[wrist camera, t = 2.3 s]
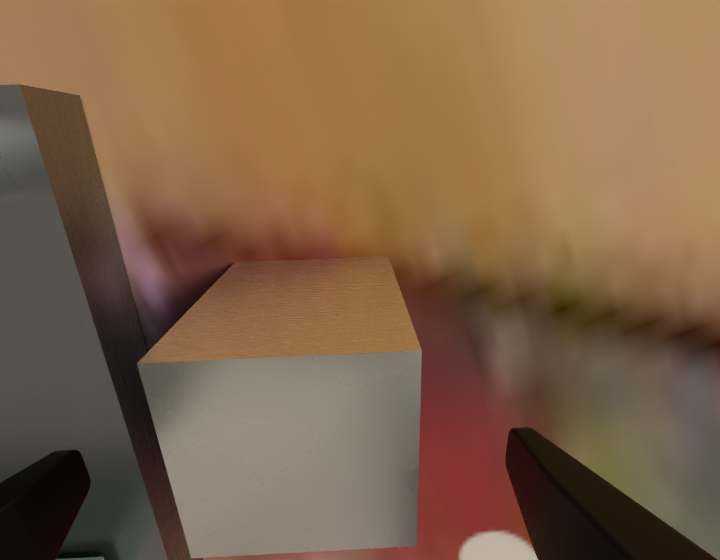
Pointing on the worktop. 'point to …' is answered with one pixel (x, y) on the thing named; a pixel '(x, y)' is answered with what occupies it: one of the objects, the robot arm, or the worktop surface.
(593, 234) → the worktop surface
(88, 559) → the ram
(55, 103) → the press
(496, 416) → the worktop surface
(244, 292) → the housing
